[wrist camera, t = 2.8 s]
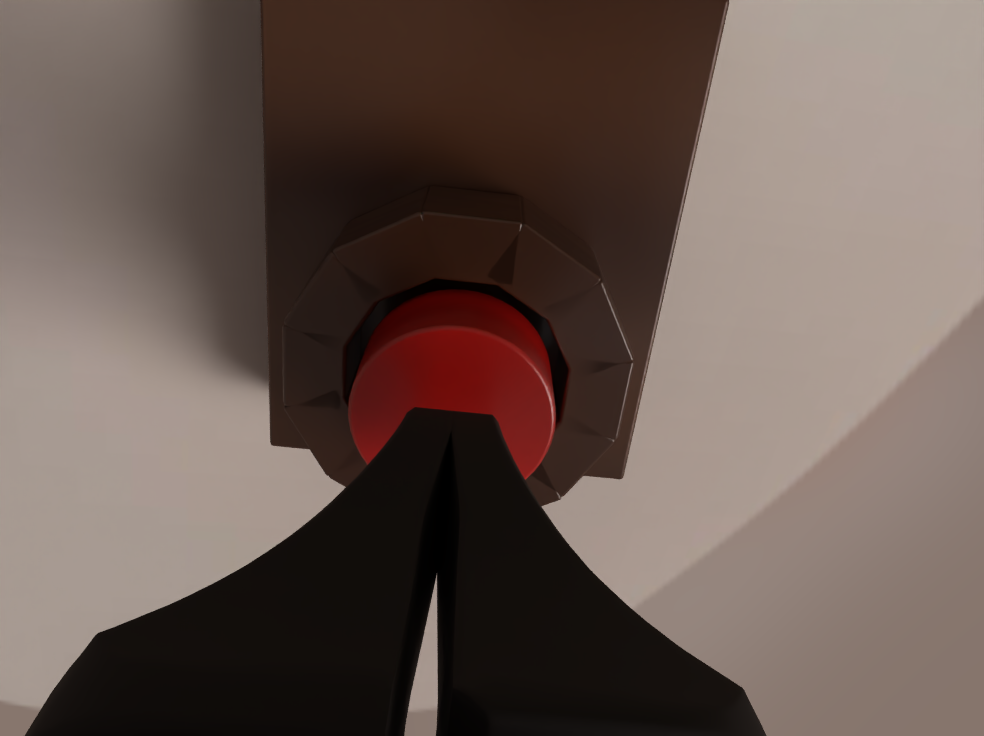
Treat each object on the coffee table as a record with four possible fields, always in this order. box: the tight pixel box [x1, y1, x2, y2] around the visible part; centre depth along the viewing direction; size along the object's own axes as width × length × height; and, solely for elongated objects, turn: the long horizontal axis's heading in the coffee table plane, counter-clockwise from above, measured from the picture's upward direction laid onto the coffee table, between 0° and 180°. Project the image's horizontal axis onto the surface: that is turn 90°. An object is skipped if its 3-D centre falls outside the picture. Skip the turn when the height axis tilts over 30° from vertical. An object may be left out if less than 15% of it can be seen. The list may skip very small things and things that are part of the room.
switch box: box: [260, 0, 729, 506], centre depth 16 cm, size 10×8×4 cm
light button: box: [348, 289, 556, 480], centre depth 14 cm, size 4×4×2 cm
